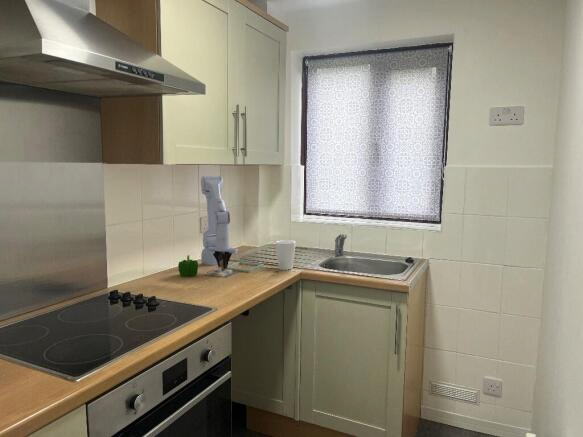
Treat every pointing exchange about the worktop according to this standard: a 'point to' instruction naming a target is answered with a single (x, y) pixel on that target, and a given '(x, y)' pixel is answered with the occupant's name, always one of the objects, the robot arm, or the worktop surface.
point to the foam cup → (285, 253)
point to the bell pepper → (188, 268)
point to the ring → (221, 274)
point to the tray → (245, 264)
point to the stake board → (225, 275)
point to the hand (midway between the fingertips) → (223, 268)
